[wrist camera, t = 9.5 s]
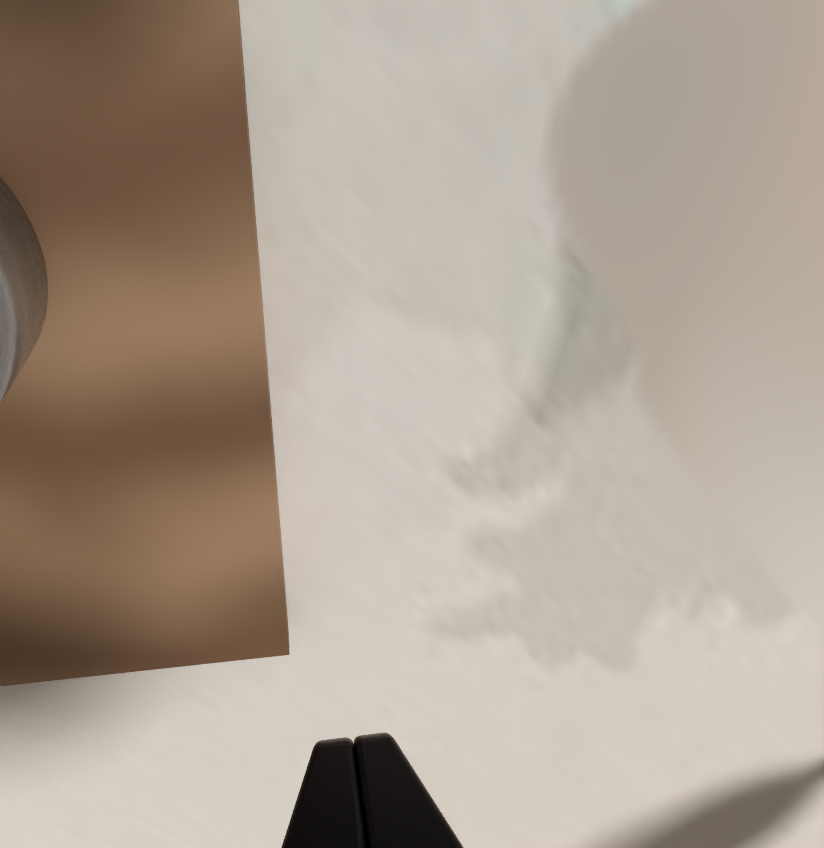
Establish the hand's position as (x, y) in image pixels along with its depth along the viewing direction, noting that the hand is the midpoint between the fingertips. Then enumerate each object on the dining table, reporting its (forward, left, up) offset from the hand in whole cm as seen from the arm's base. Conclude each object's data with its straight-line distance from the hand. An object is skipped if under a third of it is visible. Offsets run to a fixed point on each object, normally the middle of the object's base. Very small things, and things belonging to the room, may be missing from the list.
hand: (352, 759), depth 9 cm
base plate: (+2, -8, -13) cm, 15 cm away
